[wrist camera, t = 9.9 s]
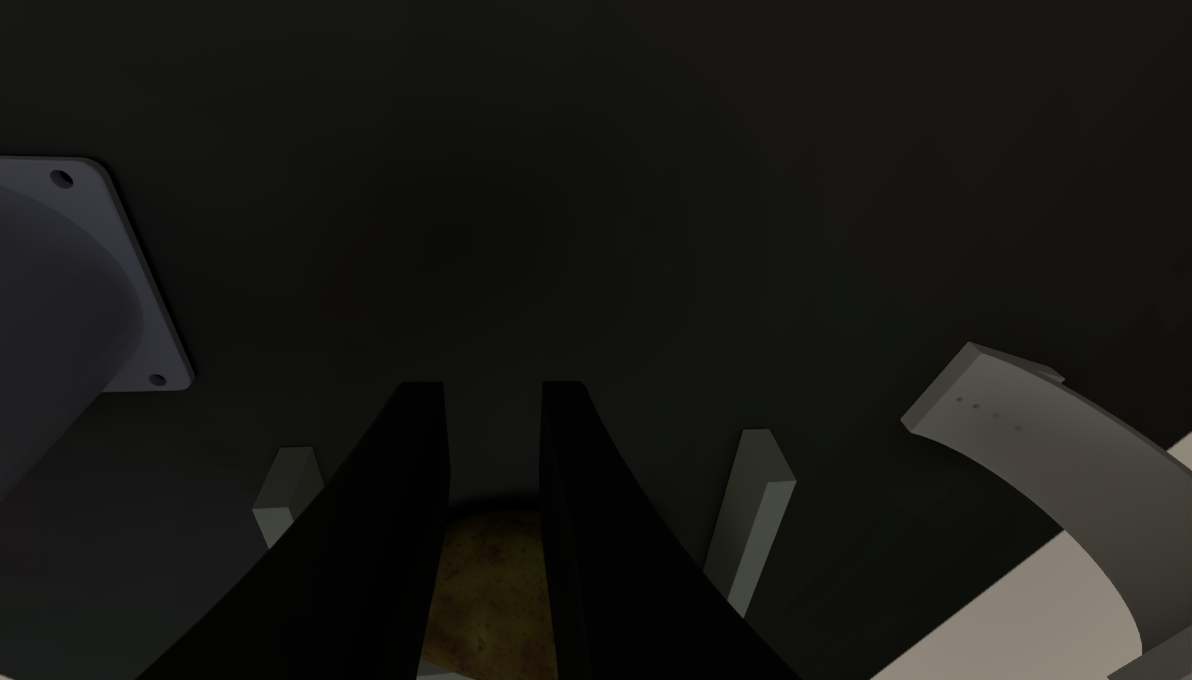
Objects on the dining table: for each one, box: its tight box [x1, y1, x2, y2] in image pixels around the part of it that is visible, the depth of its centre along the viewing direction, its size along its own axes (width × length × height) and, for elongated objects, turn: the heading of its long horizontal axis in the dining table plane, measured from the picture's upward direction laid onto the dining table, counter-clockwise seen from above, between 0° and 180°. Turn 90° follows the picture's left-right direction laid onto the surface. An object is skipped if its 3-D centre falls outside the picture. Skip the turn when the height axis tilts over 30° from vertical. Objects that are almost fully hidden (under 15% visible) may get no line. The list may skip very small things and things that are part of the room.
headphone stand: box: [900, 341, 1192, 680], centre depth 21 cm, size 5×6×12 cm
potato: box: [420, 510, 558, 680], centre depth 24 cm, size 8×13×8 cm, turn 69°
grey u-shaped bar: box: [252, 429, 796, 680], centre depth 27 cm, size 20×14×3 cm
